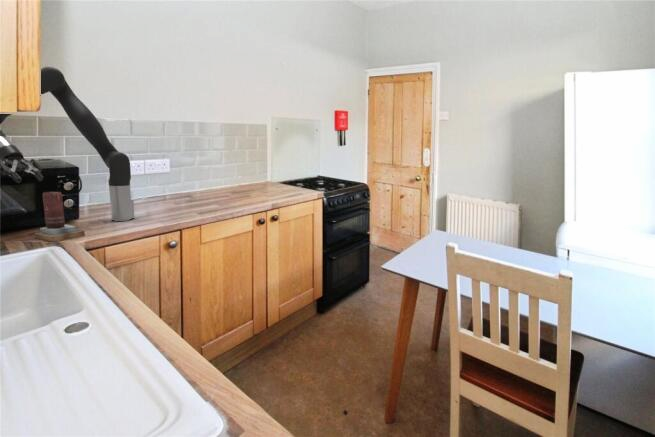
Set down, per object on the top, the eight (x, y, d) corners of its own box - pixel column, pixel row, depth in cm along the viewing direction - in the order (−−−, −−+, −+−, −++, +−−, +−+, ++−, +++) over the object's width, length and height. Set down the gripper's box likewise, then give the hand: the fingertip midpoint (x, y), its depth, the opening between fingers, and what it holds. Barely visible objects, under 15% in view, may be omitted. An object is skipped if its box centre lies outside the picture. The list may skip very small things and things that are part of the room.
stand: (66, 232, 158) (65, 223, 157) (84, 235, 153) (83, 226, 152) (34, 238, 147) (33, 228, 147) (53, 241, 142) (51, 231, 142)
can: (56, 228, 146) (52, 192, 144) (42, 227, 147) (38, 192, 145) (69, 226, 152) (66, 191, 149) (55, 225, 153) (52, 191, 151)
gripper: (-11, 143, 142) (16, 175, 141) (28, 144, 156) (52, 173, 155) (-19, 157, 144) (8, 188, 143) (20, 157, 158) (44, 185, 157)
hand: (31, 180), depth 149 cm, fingers open, 8 cm apart
